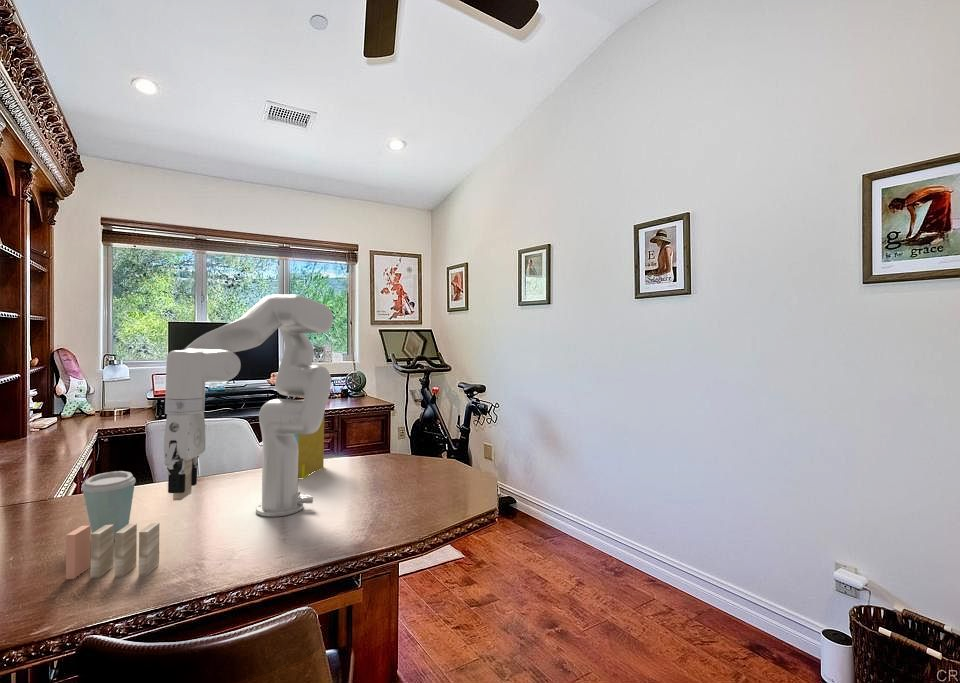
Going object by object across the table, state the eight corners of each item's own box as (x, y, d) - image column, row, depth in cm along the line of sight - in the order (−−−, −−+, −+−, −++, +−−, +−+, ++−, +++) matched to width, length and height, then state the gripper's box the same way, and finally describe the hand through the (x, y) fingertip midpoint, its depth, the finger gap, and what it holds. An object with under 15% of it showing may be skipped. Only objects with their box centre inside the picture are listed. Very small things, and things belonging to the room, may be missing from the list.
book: (302, 479, 173) (303, 407, 172) (285, 477, 174) (286, 406, 174) (327, 466, 189) (328, 401, 189) (311, 465, 191) (312, 400, 190)
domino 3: (136, 565, 107) (136, 523, 107) (123, 576, 102) (123, 532, 102) (128, 565, 106) (128, 523, 106) (114, 576, 101) (115, 533, 101)
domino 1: (90, 567, 105) (90, 525, 105) (74, 578, 100) (75, 534, 100) (81, 567, 105) (82, 525, 105) (65, 579, 100) (66, 535, 100)
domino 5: (191, 493, 112) (192, 453, 112) (180, 500, 107) (182, 458, 107) (183, 493, 111) (185, 453, 112) (172, 500, 106) (174, 458, 107)
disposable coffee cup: (134, 540, 119) (135, 478, 119) (77, 550, 113) (78, 485, 113) (136, 526, 128) (137, 468, 128) (83, 534, 122) (84, 474, 122)
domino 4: (159, 564, 107) (159, 522, 107) (147, 575, 102) (147, 531, 102) (151, 564, 107) (151, 523, 107) (138, 575, 102) (139, 532, 102)
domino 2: (113, 566, 106) (113, 524, 106) (99, 577, 101) (99, 533, 101) (105, 566, 106) (105, 524, 106) (90, 578, 101) (90, 534, 101)
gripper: (185, 411, 101) (182, 500, 101) (218, 402, 118) (216, 478, 118) (146, 410, 100) (143, 501, 100) (184, 401, 117) (182, 479, 117)
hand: (182, 488), depth 109 cm, fingers closed on domino 5, 4 cm apart
